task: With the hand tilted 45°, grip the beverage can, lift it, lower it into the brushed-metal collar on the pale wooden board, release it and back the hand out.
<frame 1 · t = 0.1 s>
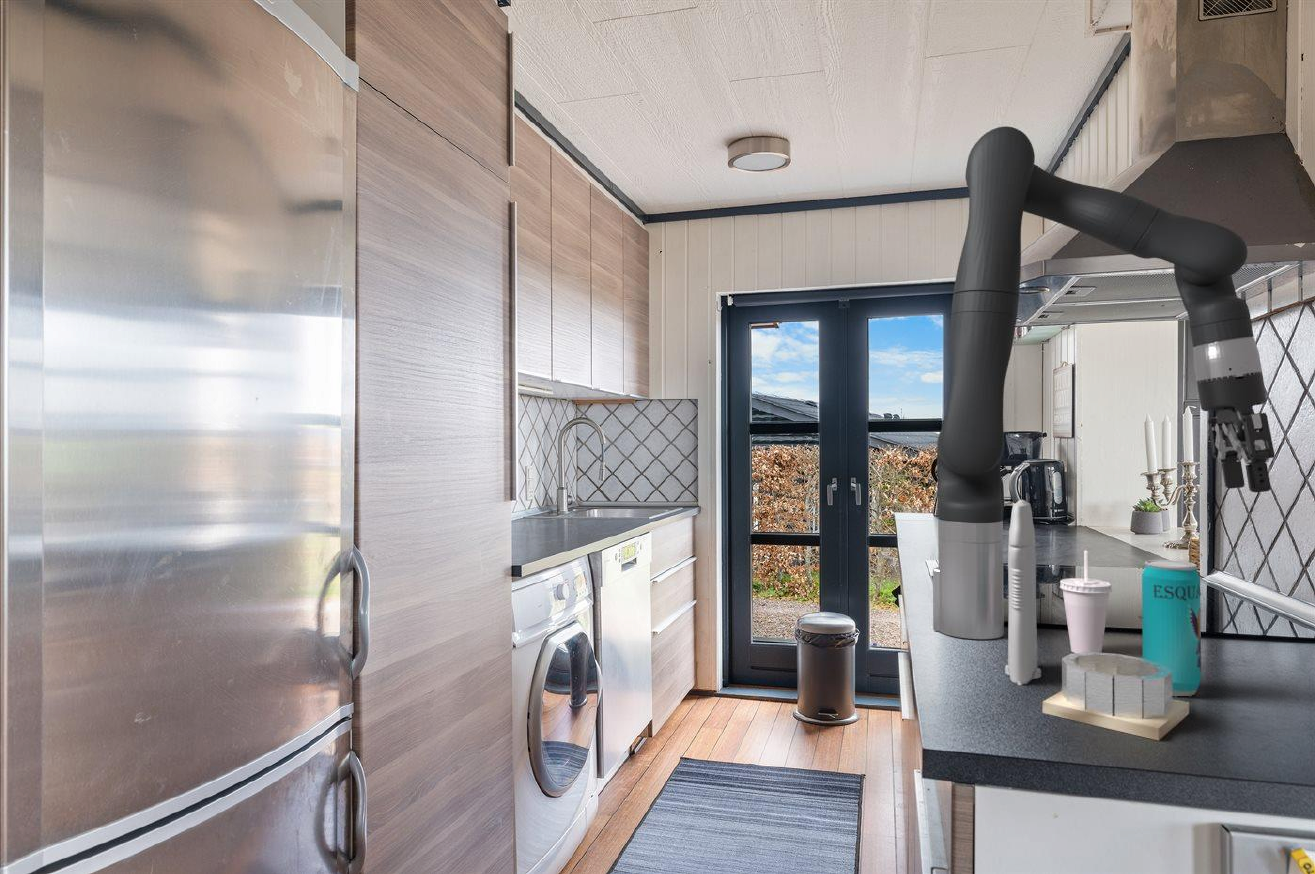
hand: (1247, 489, 110), 22 cm above the counter, tool pointing down, fingers open, 8 cm apart
base board: (1115, 713, 86), on the counter
smoothie: (1086, 653, 110), on the counter
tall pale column: (1022, 676, 100), on the counter
beverage can: (1171, 692, 93), on the counter
collar: (1115, 683, 86), on the base board, point 3 cm above the counter
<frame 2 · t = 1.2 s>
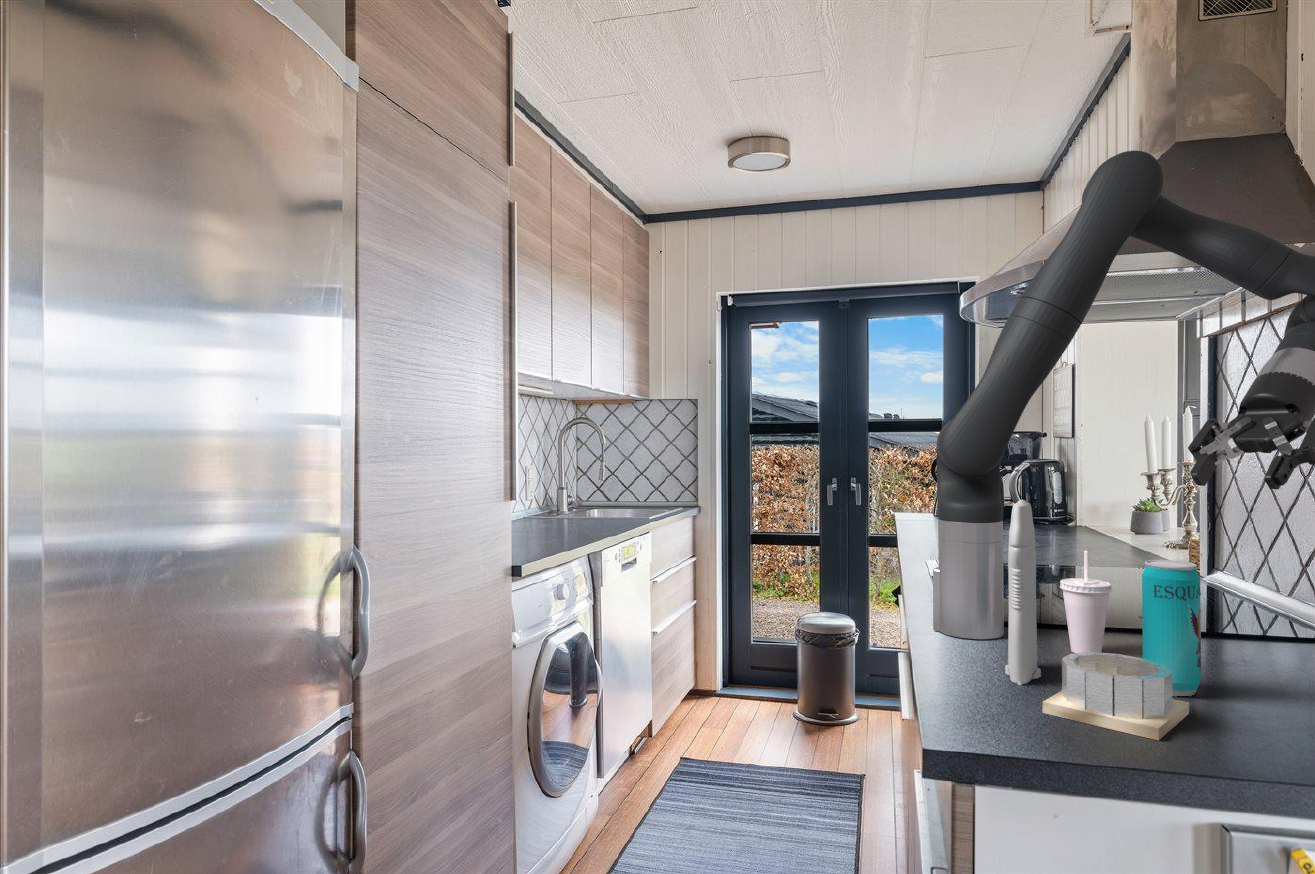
hand: (1232, 483, 98), 24 cm above the counter, tool tilted 45°, fingers open, 8 cm apart
nothing on the counter moved.
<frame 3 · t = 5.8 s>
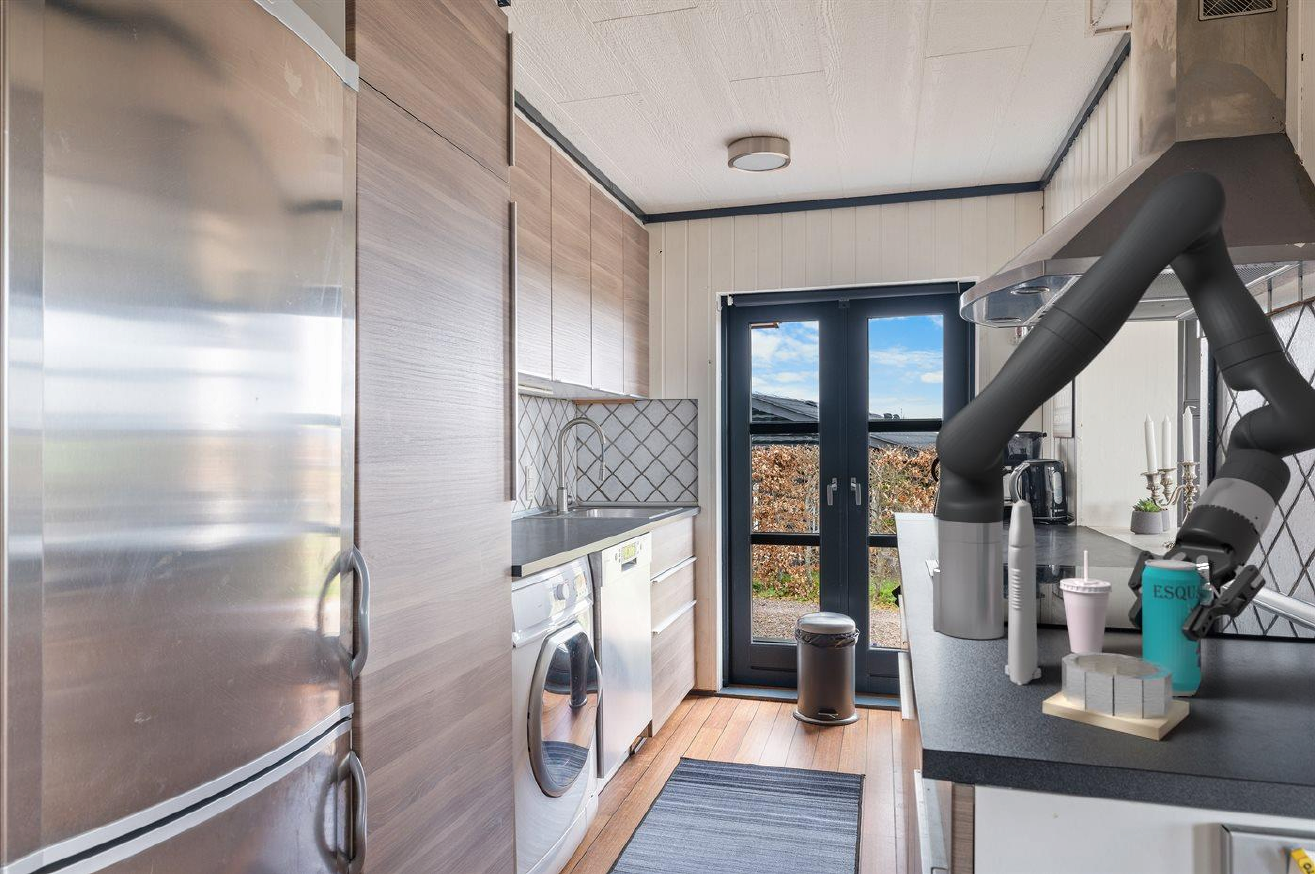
hand: (1161, 630, 93), 7 cm above the counter, tool tilted 45°, fingers closed on beverage can, 5 cm apart
beverage can: (1171, 692, 93), on the counter, touching gripper
everything else where it was.
when the fingers open (10 cm above the counter, at t = 12.7 s): beverage can drops 1 cm, resting on base board.
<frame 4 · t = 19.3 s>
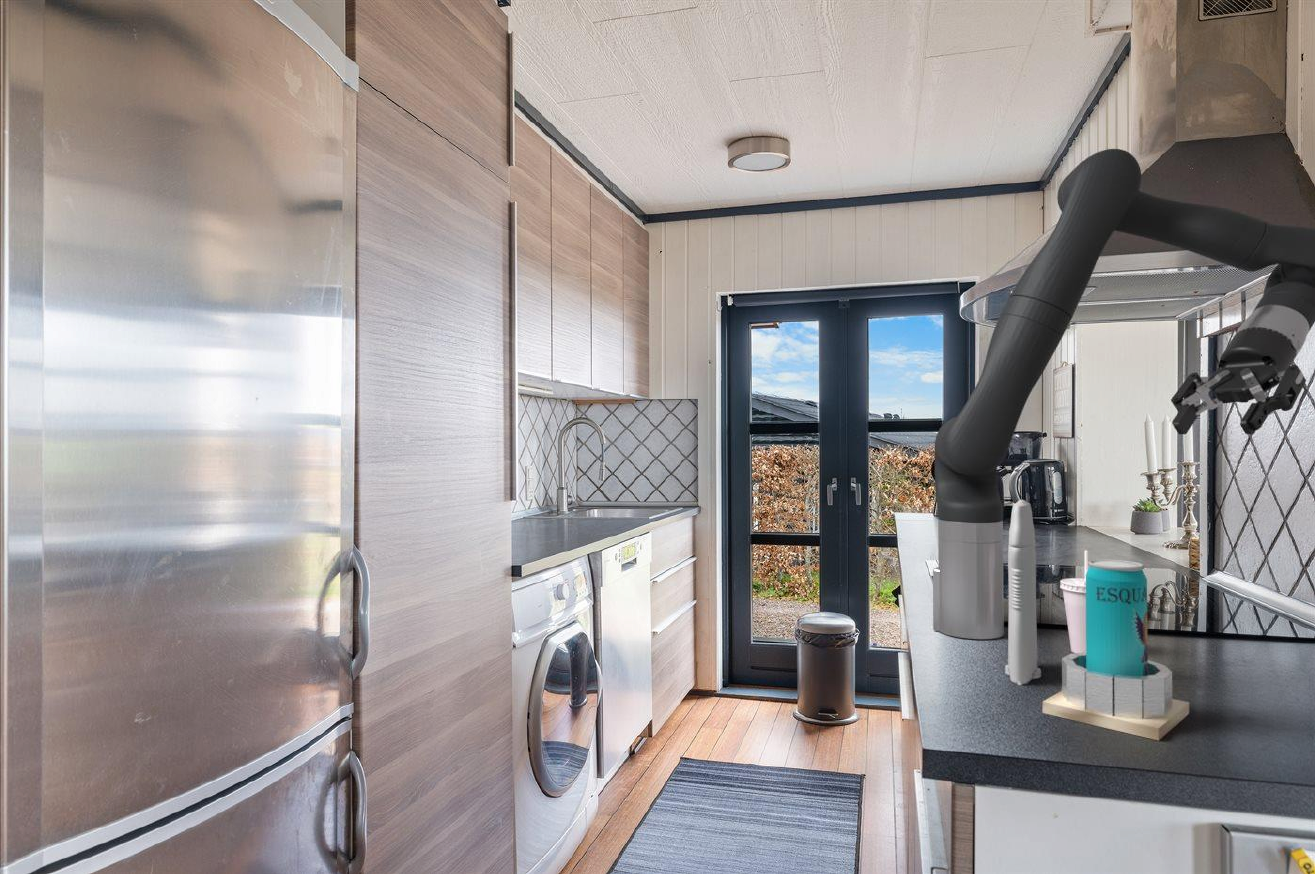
hand: (1211, 429, 104), 31 cm above the counter, tool tilted 45°, fingers open, 8 cm apart
beverage can: (1116, 703, 86), point 1 cm above the counter, touching base board
everything else where it was.
at the end: beverage can 0.2 cm off-centre on the collar, point 1.0 cm above the collar's base; beverage can tilted 0°; the gripper is holding nothing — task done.
